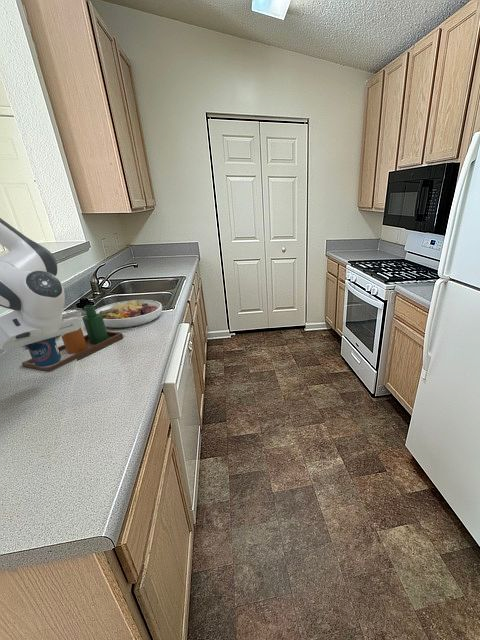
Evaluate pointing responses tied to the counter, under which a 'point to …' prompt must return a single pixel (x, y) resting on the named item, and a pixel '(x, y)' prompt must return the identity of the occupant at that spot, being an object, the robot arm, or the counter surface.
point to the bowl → (129, 313)
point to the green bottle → (94, 325)
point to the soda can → (45, 352)
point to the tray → (90, 350)
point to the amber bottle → (74, 341)
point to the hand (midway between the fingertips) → (40, 343)
